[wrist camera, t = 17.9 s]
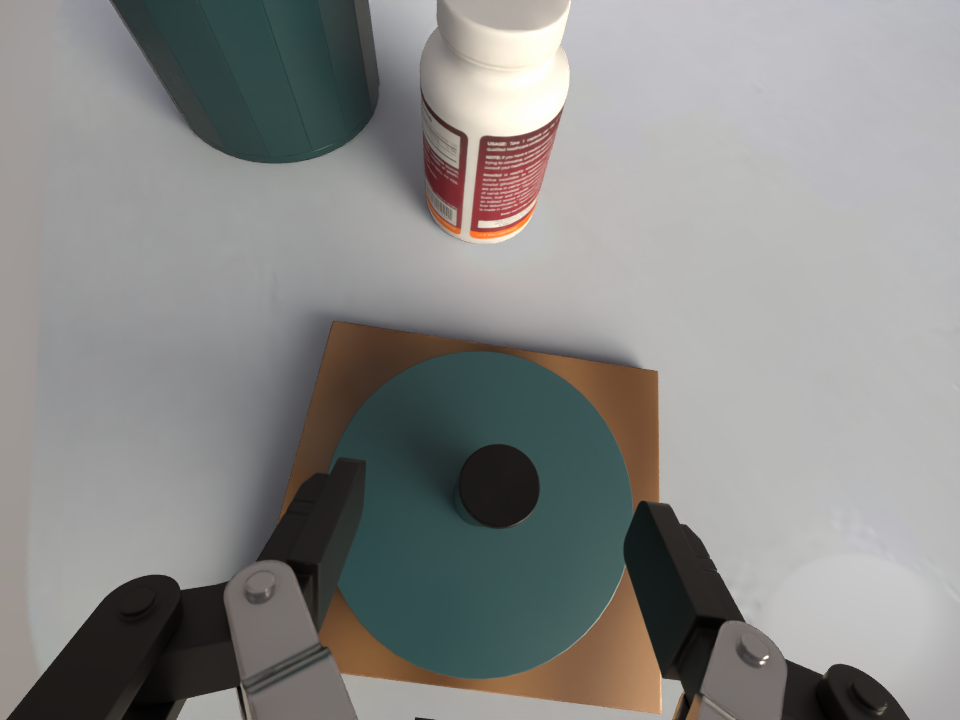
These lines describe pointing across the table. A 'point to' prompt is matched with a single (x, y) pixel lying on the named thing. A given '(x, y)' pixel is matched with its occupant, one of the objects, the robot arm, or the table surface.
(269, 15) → the pot
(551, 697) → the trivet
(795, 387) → the table surface
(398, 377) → the lid
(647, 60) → the table surface
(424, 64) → the pill bottle
